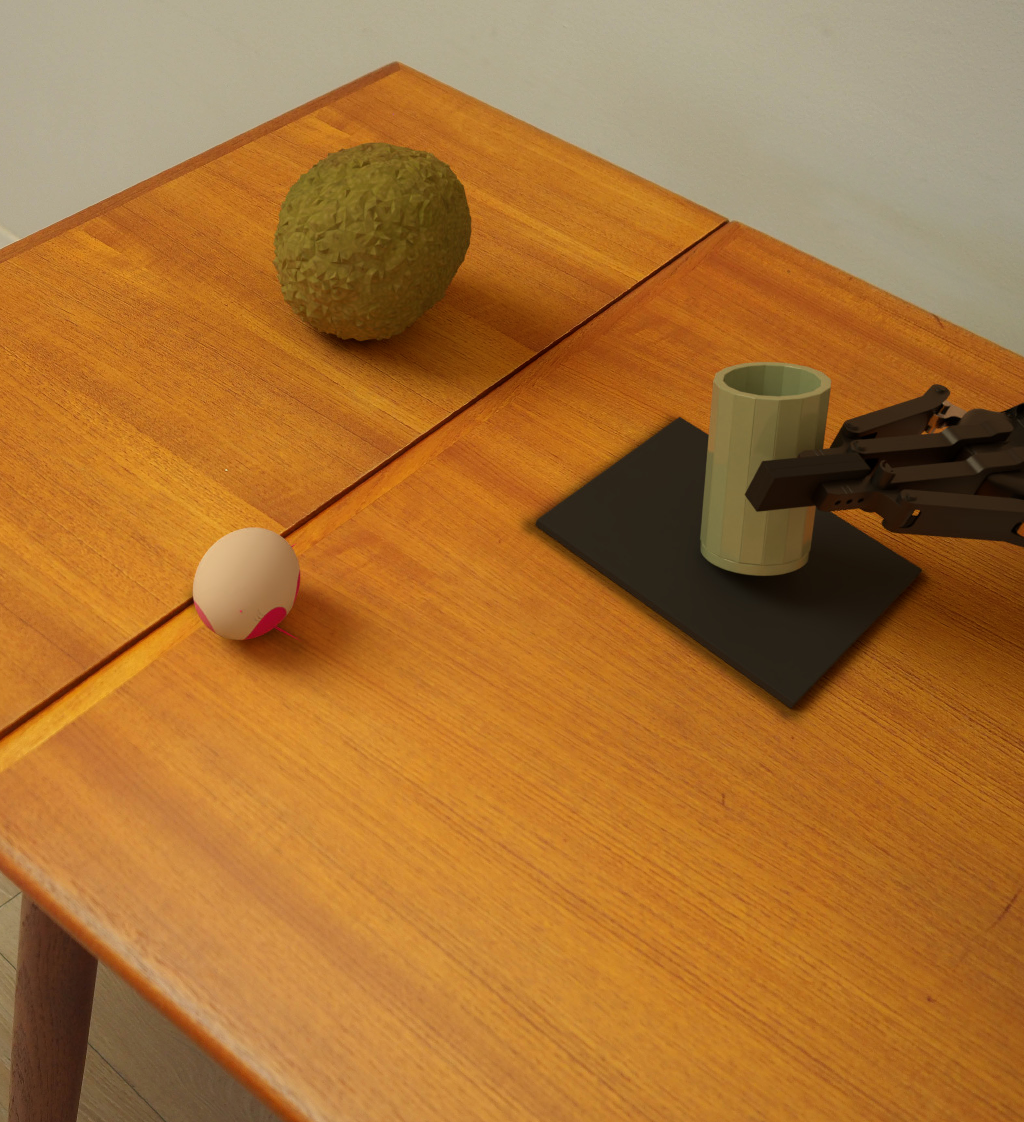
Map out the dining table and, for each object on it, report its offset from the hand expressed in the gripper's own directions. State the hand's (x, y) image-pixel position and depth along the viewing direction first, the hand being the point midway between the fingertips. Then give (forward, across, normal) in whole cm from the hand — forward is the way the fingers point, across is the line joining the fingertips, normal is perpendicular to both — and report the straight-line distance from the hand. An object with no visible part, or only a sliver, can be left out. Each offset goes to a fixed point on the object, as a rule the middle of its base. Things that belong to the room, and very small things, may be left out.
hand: (759, 486), depth 74 cm
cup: (-5, +3, -9) cm, 11 cm away
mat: (-5, +5, -11) cm, 13 cm away
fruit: (+13, +34, -11) cm, 38 cm away
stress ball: (+29, +4, -11) cm, 31 cm away
